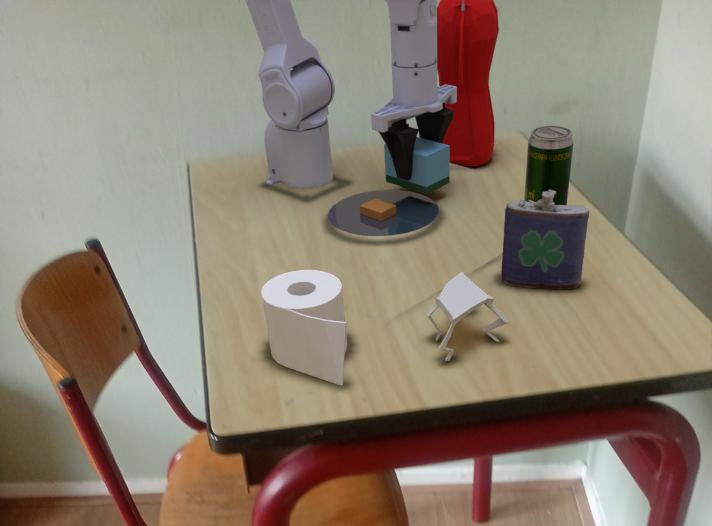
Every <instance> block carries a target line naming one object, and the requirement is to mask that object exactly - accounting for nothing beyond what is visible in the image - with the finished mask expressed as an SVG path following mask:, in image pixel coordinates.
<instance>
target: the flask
mask: <svg viewBox="0 0 712 526" xmlns="http://www.w3.org/2000/svg"><path fill="white" fill-rule="evenodd" d="M548 191H549V192H547V191H545V192H543V194H542V196H543V198H542V199H540V200H538V201H537V202H533V201H531V200H529V202H526V201H525V198H524V197H523V198H521V199H520V200H514V201H510V202H508V203H507V204H506V206H505V209H504V222H503V223H504V224H503V240H502V241H503V242H502V254H501V255H502V257H501V281H502V283H504V284H506V285H510V286H515V287H525V288H529V289H538V288H540V289H548V290H571V289H577V288H579V287H580V284H581V281H582V274H583V263H584V258H585V247H586V239H587V231H588V224H589V218H590V210H589V208H588V207H586V206H585V205H580V204H575V205H574V204H573V205H572V204H571V205H569V204H567V206H566V205H554V204H555V203H554V202H553V198H554V195H555V194H556V191H552V190H548Z"/></svg>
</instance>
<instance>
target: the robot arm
mask: <svg viewBox="0 0 712 526" xmlns="http://www.w3.org/2000/svg"><path fill="white" fill-rule="evenodd" d="M245 2H246V5H247V9H248V12H249V15H250V16H251V20H252V23H253V25H254V28H255V31H256V33H257V36H258V39H259V43H260V45H261V47H262V50H263V56H262V58H261V62H260V64H259V65H260V66H259V69H258V73H257V74H258V78H259V81H260V84H261V88H262V105H263V108H264V111H265V112H266V114H267V116H268V117H269V119H270V120H269V121H268V123H267V125H266V127H265V130H264V138H263V139H264V147H265V149H264V150H265V154H266V155H265V156H266V162H267V169H268V175H269V179H267V180H265V184H266V186H272V185H273V184H276V183H278V182H281V183H284V184H285V185H286V186H288V187H289V188H295V189H301V190H302V189H303V190H304V189H305V190H306V189H315V188H321V187H323V186H326V185H328V184H329V183H331V182H332V181H333V180H334V173H333V161H332V151H331V140H330V139H331V138H330V129H329V127H330V126H329V118H328V116H329V113H330V112H329V106H330V104H331V103H332V102H333V100H334V97H335V92H336V91H335V90H336V88H335V87H336V85H335V81H334V78H333V76H332V73H331V72H330V70H329V69H328V68H327V66H326V65H325V63H324V62H323V61H322V59H321V56H320V54H319V51H318V48H317V47H316V46H315V45H313V44H312V43H311V42H309V40H307V39H306V38H304V36H303V35H302V32H301V28H300V25H299V22H298V20H297V16H296V14H295V11H294V7H293V3H292V1H291V0H245ZM385 2H386V4H387V7H388V15H389V28H390V29H389V30H390V32H389V33H390V54H391V57H390V58H391V76H392V77H391V81H392V83H391V84H392V99H390V100H389V101H388V102H387V103H386V104H384V105H383V106H382V107H380V108H379V109H378V110H376V111H373V112H372V113H370V120H371V130H372V131H376V132H378V134H379V135H380V137H381V138H382V140H383V142H384V144H386V146H387V148H388V150H389V152H390V155H391V158H392V161H393V164H394V168H395V171H396V175H397V178H400V179H403V180H407V181H408V180H410V179H411V176H412V168H413V151H414V145H415V141H416V137H419V138H423V139H427V140H430V141H434V142H438V143H443V140H444V137H445V134H446V132H447V129H448V127H449V125H450V123H451V121H452V120H453V118H454V111H453V110H452V109H448V108H445V104H447V103H449V104H453V103H456V102H457V87H455V86H451V85H443V86H439V85H438V71H437V7H438V0H385ZM413 118H414V119H415V121H416V126H417V128H415V127H411V126H410V123H407V121H409V120H411V119H413Z"/></svg>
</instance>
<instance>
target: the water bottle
mask: <svg viewBox="0 0 712 526" xmlns="http://www.w3.org/2000/svg"><path fill="white" fill-rule="evenodd" d="M499 32H500V27H499V13H498V8H497V5H496V3H495V0H439V2H438V3H437V77H438V87H439V86H443V85H451V86H455V87H457V102H456V103H453V104H449V103H447V104H445V108H448V109H452V110H453V111H454V118H453V120H452V121H451V123H450V125H449V127H448V129H447V132H446V134H445V137H444V140H443V143H442V144H446V145H449V146H450V161H449V164H453V165H456V166H459V167H479V166H481V165H485V164H486V163H488V162H489V161H490V159H492V156H493V153H494V147H495V127H496V126H495V125H496V123H495V116H494V110H493V103H492V96H491V90H490V73H491V67H492V65H493V64H492V62H493V59H494V54H495V50H496V44H497V41H498V36H499Z"/></svg>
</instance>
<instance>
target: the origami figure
mask: <svg viewBox="0 0 712 526" xmlns="http://www.w3.org/2000/svg"><path fill="white" fill-rule="evenodd" d="M464 272H465V271H460V272H459V273H458V274H456V275H455V276H454V277H453V278H451V279H450V280H449V281H447V282H446V284H445V285H444V287H443V288H442V290H441V292H440V294H439V296H437V297H436V298H435V303H434V305H433V306H432V307H431V308H430V309H429V311H427V313H426V317H427V318H428V320H429V321H430V322H431V323H432V325H433V327H434V328H435V329H436V330H437V331H438V334H437V335H436V337H435V339H434V340H435V342H438V341H439V340H440V338H441V335H442V331H441V329H440V328H439V326H438V325H437V323H436V322H435V320H434V318H433V317H432V315H433V314H434V312H435V311H436V310H437V309H438V308H439V309H441V311H442V312H443V314H444V315H445V316H446V317H447V318H448V320H449V321H450V322H451V323H450V326H449V328H448V330H447V332H446V334H445V336H444V337H443V339H442V341H441V343H440V345H439V346H438V350H439V351H442V352H448V354H447V355H446V357H445V362H449V361H450V360H451V358H452V356H453V355H454V352H455V351H454V349H453V348H448V347H447V345H448V343H449V340H450V339H451V336H452V333H453V331H454V328H455V325H456V324H457V323H459V322H460V321H461V320H462V319H464V318H465V317H466V316H467V315H469V314H472V312H473V311H475V310H476V309H478V308H480V307H482V306H483V305H485V306H486V307H487V308H488V309H489V310H490V311H491V312H493V314H494V315H496V316H497V317H498V318H497V319H496V320H494V321H493V322H490V323H488V324H487V325H485V326H484V327H482V328H481V330H482V331H483V332H484V333H485V334H487V335H488V336H489V337H491V338H492V339H493V340H494V341H495V342H500V339H498V338H497V336H495V335H494V334H492V333H491V332H490V331H492V330H494V329H496V328H498V327H501V326H504V325H507V324H509V323H511V321H509V319H508V318H507V317H506V316H505V315H504V314H503V312H501V311H500V310H499V309H498V307H496V306H495V305H494V304H493V303H494V301H495V298H493V297H492V296H490V295H489V294H487V293H486V292H485V291H484V290H482V289H481V288H480V286H478V285H477V284H476V283H474V281H472V280H471V279H470V278H469V277H468V276H467V275H466V274H464Z"/></svg>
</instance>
